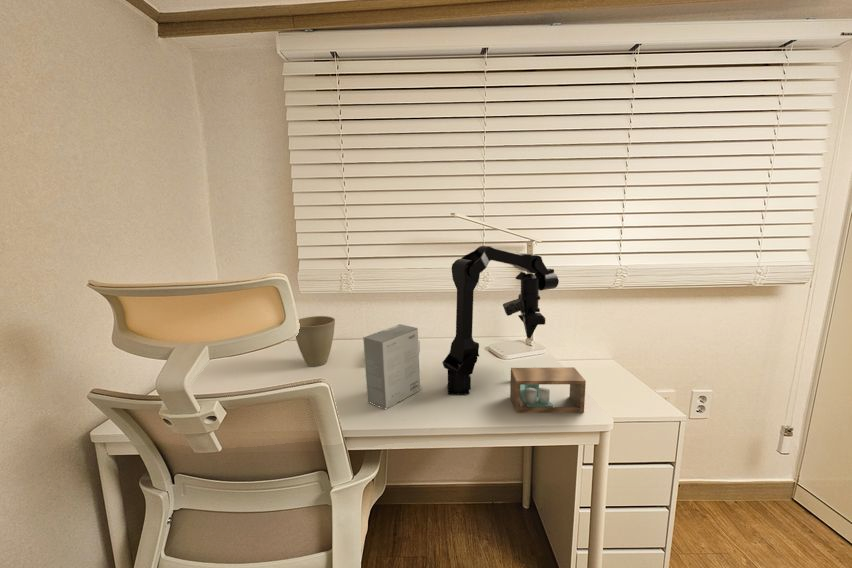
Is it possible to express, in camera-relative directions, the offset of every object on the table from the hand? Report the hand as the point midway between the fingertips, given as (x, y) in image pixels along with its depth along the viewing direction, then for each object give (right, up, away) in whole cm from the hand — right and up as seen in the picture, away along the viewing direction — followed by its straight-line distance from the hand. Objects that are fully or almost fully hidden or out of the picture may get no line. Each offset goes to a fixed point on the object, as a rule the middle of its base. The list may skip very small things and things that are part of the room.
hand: (528, 337), depth 130 cm
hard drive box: (-44, -16, -15) cm, 49 cm away
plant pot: (-75, -11, +13) cm, 77 cm away
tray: (-3, -15, -14) cm, 21 cm away
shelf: (-1, -16, -21) cm, 26 cm away
